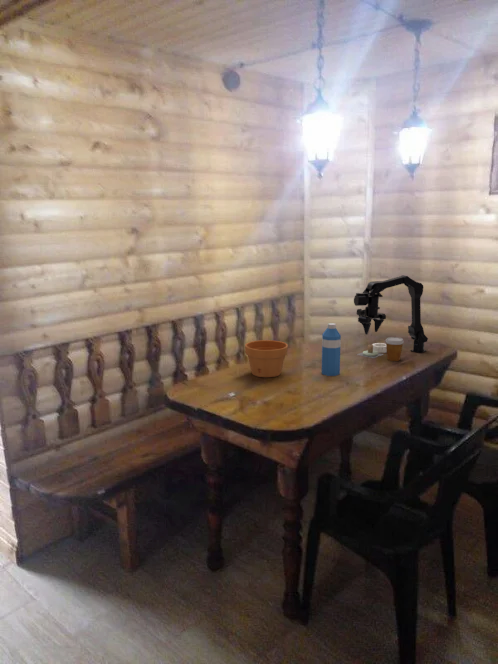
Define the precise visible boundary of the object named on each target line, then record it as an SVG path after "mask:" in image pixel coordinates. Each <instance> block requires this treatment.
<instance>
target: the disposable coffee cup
mask: <svg viewBox="0 0 498 664" xmlns="http://www.w3.org/2000/svg"><path fill="white" fill-rule="evenodd" d="M384 341H385V342H384V343H385V344H386V348H387V352H386V357H387V361H391V362H399V361H400V360H401V354H402V350H403V344H404V339H403V337H396V336H389V337H387V338H386V339H385V340H384Z"/></svg>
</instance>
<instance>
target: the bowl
mask: <svg viewBox="0 0 498 664" xmlns="http://www.w3.org/2000/svg"><path fill="white" fill-rule="evenodd" d="M371 345H373V351H376V352H378V353H381V354H384V353H386V354H387V348H386V342H376V343H372V344H371Z"/></svg>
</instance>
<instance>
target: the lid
mask: <svg viewBox="0 0 498 664" xmlns="http://www.w3.org/2000/svg"><path fill="white" fill-rule="evenodd" d="M362 352H363V355H365V356H377V355H378V352H376V351H373V345H372V344H368V345H367V350H364V351H362ZM365 356H364V357H365Z"/></svg>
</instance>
